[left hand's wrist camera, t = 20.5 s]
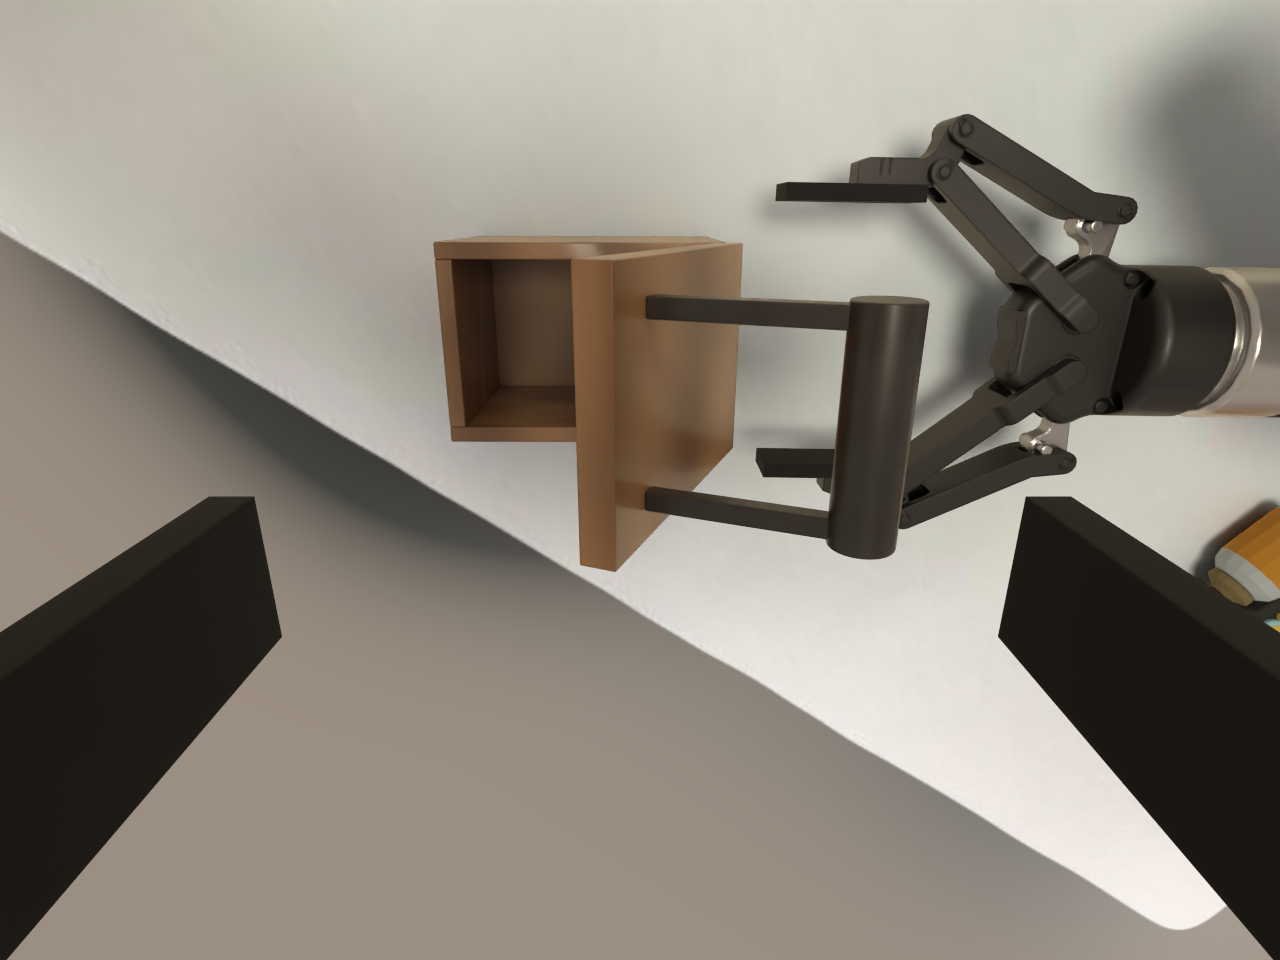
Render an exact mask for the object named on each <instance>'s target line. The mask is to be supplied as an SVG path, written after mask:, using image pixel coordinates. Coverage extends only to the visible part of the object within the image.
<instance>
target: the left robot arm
mask: <svg viewBox="0 0 1280 960" xmlns="http://www.w3.org/2000/svg"><path fill="white" fill-rule="evenodd" d="M281 637H282V634H281V630H280V624H279V619H278V614H277V609H276V604H275V599H274V594H273V589H272V584H271V579H270V574H269V569H268V564H267V559H266V554H265V549H264V544H263V539H262V534H261V529H260V524H259V519H258V514H257V509H256V504H255V499H254V497H208V498H206V499H205V500H203V501H202V502H200V503H199V504H197V505H195V506H194V507H192V508H191V509H189V510H188V511H186V512H185V513H183V514H182V515H180V516H179V517H177V518H175V519H174V520H172V521H171V522H169V523H168V524H166V525H165V526H163V527H162V528H160V529H159V530H157V531H155V532H154V533H152V534H151V535H149V536H148V537H146V538H145V539H143V540H142V541H140V542H139V543H137V544H135V545H134V546H132V547H131V548H129V549H128V550H126V551H125V552H123V553H122V554H120V555H119V556H117V557H115V558H114V559H112V560H111V561H109V562H108V563H106V564H105V565H103V566H102V567H100V568H99V569H97V570H96V571H94V572H92V573H91V574H89V575H88V576H86V577H85V578H83V579H82V580H80V581H79V582H77V583H75V584H74V585H72V586H71V587H69V588H68V589H66V590H65V591H63V592H62V593H60V594H59V595H57V596H55V597H54V598H52V599H51V600H49V601H48V602H46V603H45V604H43V605H42V606H40V607H39V608H37V609H35V610H34V611H32V612H31V613H29V614H28V615H26V616H25V617H23V618H22V619H20V620H19V621H17V622H15V623H14V624H12V625H11V626H9V627H8V628H6V629H5V630H3V631H2V632H0V960H7V959H8V958H9V956H10V955H11V954H12V953H13V952H14V950H15V949H16V948H17V947H18V946H19V944H20V943H21V942H22V941H23V940H24V939H25V937H26V936H27V935H28V934H29V933H30V932H31V931H32V929H33V928H34V927H35V926H36V925H37V923H38V922H39V921H40V920H41V919H42V918H43V916H44V915H45V914H46V913H47V912H48V911H49V909H50V908H51V907H52V906H53V905H54V904H55V902H56V901H57V900H58V899H59V898H60V896H61V895H62V894H63V893H64V892H65V891H66V889H67V888H68V887H69V886H70V885H71V884H72V882H73V881H74V880H75V879H76V878H77V877H78V875H79V874H80V873H81V872H82V871H83V870H84V868H85V867H86V866H87V865H88V864H89V862H90V861H91V860H92V859H93V858H94V857H95V855H96V854H97V853H98V852H99V851H100V850H101V848H102V847H103V846H104V845H105V844H106V843H107V841H108V840H109V839H110V838H111V837H112V835H113V834H114V833H115V832H116V831H117V830H118V828H119V827H120V826H121V825H122V824H123V823H124V821H125V820H126V819H127V818H128V817H129V815H130V814H131V813H132V812H133V811H134V810H135V808H136V807H137V806H138V805H139V804H140V803H141V801H142V800H143V799H144V798H145V797H146V796H147V794H148V793H149V792H150V791H151V790H152V789H153V787H154V786H155V785H156V784H157V783H158V782H159V780H160V779H161V778H162V777H163V776H164V774H165V773H166V772H167V771H168V770H169V769H170V767H171V766H172V765H173V764H174V763H175V762H176V760H177V759H178V758H179V757H180V756H181V755H182V753H183V752H184V751H185V750H186V749H187V747H188V746H189V745H190V744H191V743H192V742H193V740H194V739H195V738H196V737H197V736H198V735H199V733H200V732H201V731H202V730H203V729H204V728H205V726H206V725H207V724H208V723H209V722H210V720H211V719H212V718H213V717H214V716H215V715H216V713H217V712H218V711H219V710H220V709H221V708H222V706H223V705H224V704H225V703H226V702H227V701H228V699H229V698H230V697H231V696H232V695H233V693H234V692H235V691H236V690H237V689H238V688H239V686H240V685H241V684H242V683H243V682H244V681H245V679H246V678H247V677H248V676H249V675H250V674H251V672H252V671H253V670H254V669H255V668H256V666H257V665H258V664H259V663H260V662H261V661H262V659H263V658H264V657H265V656H266V655H267V654H268V652H269V651H270V650H271V649H272V648H273V647H274V645H275V644H276V643H277V642H278V641H279V639H280V638H281ZM998 637H999V638H1000V640H1001V641H1002V642H1003V643H1004V644H1005V645H1006V647H1007V648H1008V649H1009V650H1010V651H1011V652H1012V654H1013V655H1014V656H1015V657H1016V658H1017V659H1018V661H1019V662H1020V663H1021V664H1022V665H1023V667H1024V668H1025V669H1026V670H1027V671H1028V672H1029V674H1030V675H1031V676H1032V677H1033V678H1034V679H1035V681H1036V682H1037V683H1038V684H1039V685H1040V686H1041V688H1042V689H1043V690H1044V691H1045V692H1046V693H1047V695H1048V696H1049V697H1050V698H1051V699H1052V701H1053V702H1054V703H1055V704H1056V705H1057V706H1058V708H1059V709H1060V710H1061V711H1062V712H1063V713H1064V715H1065V716H1066V717H1067V718H1068V719H1069V720H1070V722H1071V723H1072V724H1073V725H1074V726H1075V728H1076V729H1077V730H1078V731H1079V732H1080V733H1081V735H1082V736H1083V737H1084V738H1085V739H1086V740H1087V742H1088V743H1089V744H1090V745H1091V746H1092V747H1093V749H1094V750H1095V751H1096V752H1097V753H1098V755H1099V756H1100V757H1101V758H1102V759H1103V760H1104V762H1105V763H1106V764H1107V765H1108V766H1109V767H1110V769H1111V770H1112V771H1113V772H1114V773H1115V774H1116V776H1117V777H1118V778H1119V779H1120V780H1121V782H1122V783H1123V784H1124V785H1125V786H1126V787H1127V789H1128V790H1129V791H1130V792H1131V793H1132V794H1133V796H1134V797H1135V798H1136V799H1137V800H1138V801H1139V803H1140V804H1141V805H1142V806H1143V807H1144V808H1145V810H1146V811H1147V812H1148V813H1149V814H1150V816H1151V817H1152V818H1153V819H1154V820H1155V821H1156V823H1157V824H1158V825H1159V826H1160V827H1161V828H1162V830H1163V831H1164V832H1165V833H1166V834H1167V835H1168V837H1169V838H1170V839H1171V840H1172V841H1173V843H1174V844H1175V845H1176V846H1177V847H1178V848H1179V850H1180V851H1181V852H1182V853H1183V854H1184V855H1185V857H1186V858H1187V859H1188V860H1189V861H1190V862H1191V864H1192V865H1193V866H1194V867H1195V868H1196V870H1197V871H1198V872H1199V873H1200V874H1201V875H1202V877H1203V878H1204V879H1205V880H1206V881H1207V882H1208V884H1209V885H1210V886H1211V887H1212V888H1213V889H1214V891H1215V892H1216V893H1217V894H1218V895H1219V896H1220V898H1221V899H1222V900H1223V901H1224V902H1225V904H1226V905H1227V906H1228V907H1229V908H1230V909H1231V910H1232V912H1233V913H1234V914H1235V915H1236V916H1237V918H1238V919H1239V920H1240V921H1241V922H1242V923H1243V925H1244V926H1245V927H1246V928H1247V929H1248V931H1249V932H1250V933H1251V934H1252V935H1253V936H1254V938H1255V939H1256V940H1257V941H1258V942H1259V943H1260V945H1261V946H1262V947H1263V948H1264V949H1265V950H1266V952H1267V953H1268V954H1269V955H1270V956H1271V958H1272V959H1273V960H1280V632H1278V631H1277V630H1275V629H1274V628H1272V627H1271V626H1269V625H1268V624H1266V623H1265V622H1263V621H1261V620H1260V619H1258V618H1257V617H1255V616H1254V615H1252V614H1251V613H1249V612H1248V611H1246V610H1245V609H1243V608H1241V607H1240V606H1238V605H1237V604H1235V603H1234V602H1232V601H1231V600H1229V599H1228V598H1226V597H1225V596H1223V595H1221V594H1220V593H1218V592H1217V591H1215V590H1214V589H1212V588H1211V587H1209V586H1208V585H1206V584H1205V583H1203V582H1201V581H1200V580H1198V579H1197V578H1195V577H1194V576H1192V575H1191V574H1189V573H1188V572H1186V571H1185V570H1183V569H1181V568H1180V567H1178V566H1177V565H1175V564H1174V563H1172V562H1171V561H1169V560H1168V559H1166V558H1165V557H1163V556H1161V555H1160V554H1158V553H1157V552H1155V551H1154V550H1152V549H1151V548H1149V547H1148V546H1146V545H1145V544H1143V543H1141V542H1140V541H1138V540H1137V539H1135V538H1134V537H1132V536H1131V535H1129V534H1128V533H1126V532H1125V531H1123V530H1121V529H1120V528H1118V527H1117V526H1115V525H1114V524H1112V523H1111V522H1109V521H1108V520H1106V519H1105V518H1103V517H1101V516H1100V515H1098V514H1097V513H1095V512H1094V511H1092V510H1091V509H1089V508H1088V507H1086V506H1085V505H1083V504H1081V503H1080V502H1078V501H1077V500H1075V499H1074V498H1072V497H1026V499H1025V504H1024V509H1023V514H1022V519H1021V524H1020V529H1019V534H1018V539H1017V544H1016V549H1015V554H1014V559H1013V564H1012V569H1011V574H1010V579H1009V584H1008V589H1007V594H1006V599H1005V604H1004V609H1003V614H1002V619H1001V624H1000V629H999V634H998Z"/></svg>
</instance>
